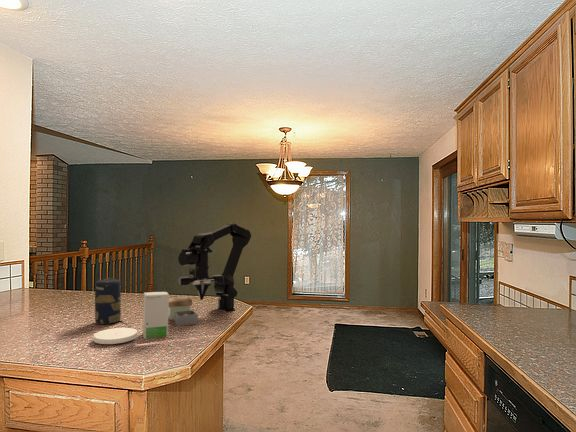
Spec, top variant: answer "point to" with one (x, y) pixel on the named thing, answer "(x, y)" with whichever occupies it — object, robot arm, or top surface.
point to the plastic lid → (115, 335)
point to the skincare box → (155, 314)
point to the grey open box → (186, 318)
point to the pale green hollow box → (176, 309)
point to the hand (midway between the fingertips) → (201, 299)
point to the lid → (179, 301)
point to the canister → (107, 301)
